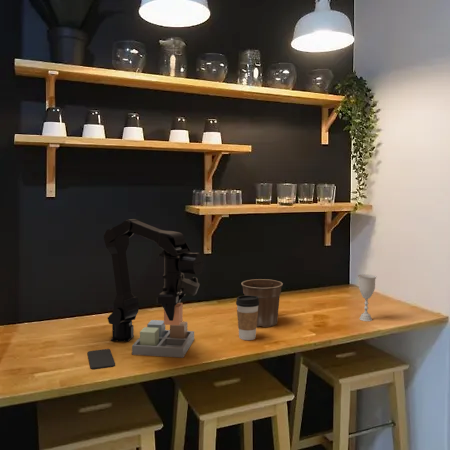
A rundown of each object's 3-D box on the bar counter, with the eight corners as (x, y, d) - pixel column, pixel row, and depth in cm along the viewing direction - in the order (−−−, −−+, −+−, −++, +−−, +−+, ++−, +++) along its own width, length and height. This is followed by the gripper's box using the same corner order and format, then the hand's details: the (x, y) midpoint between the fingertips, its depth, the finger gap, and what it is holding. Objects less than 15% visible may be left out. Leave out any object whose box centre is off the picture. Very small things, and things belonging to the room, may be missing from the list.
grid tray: (132, 354, 149) (131, 333, 148) (148, 337, 166) (147, 318, 165) (183, 357, 147) (183, 336, 146) (194, 339, 163) (194, 320, 163)
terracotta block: (164, 324, 149) (163, 306, 148) (167, 319, 154) (167, 302, 153) (179, 325, 148) (179, 307, 147) (182, 320, 153) (182, 303, 152)
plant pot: (232, 323, 183) (232, 283, 181) (258, 314, 194) (258, 276, 193) (265, 332, 172) (265, 289, 170) (290, 322, 183) (290, 282, 182)
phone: (110, 348, 153) (115, 364, 139) (110, 350, 154) (116, 367, 140) (86, 351, 151) (90, 368, 137) (86, 353, 151) (90, 370, 137)
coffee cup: (252, 343, 160) (252, 300, 158) (231, 338, 164) (231, 297, 163) (263, 336, 167) (263, 295, 166) (242, 332, 172) (243, 292, 170)
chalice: (355, 320, 186) (357, 276, 184) (357, 316, 192) (358, 273, 191) (374, 322, 183) (376, 278, 182) (375, 318, 190) (377, 275, 188)
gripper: (191, 278, 139) (191, 328, 140) (202, 266, 157) (202, 311, 159) (155, 276, 140) (156, 326, 142) (171, 265, 159) (171, 309, 160)
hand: (173, 318), depth 151 cm, fingers closed on terracotta block, 5 cm apart
